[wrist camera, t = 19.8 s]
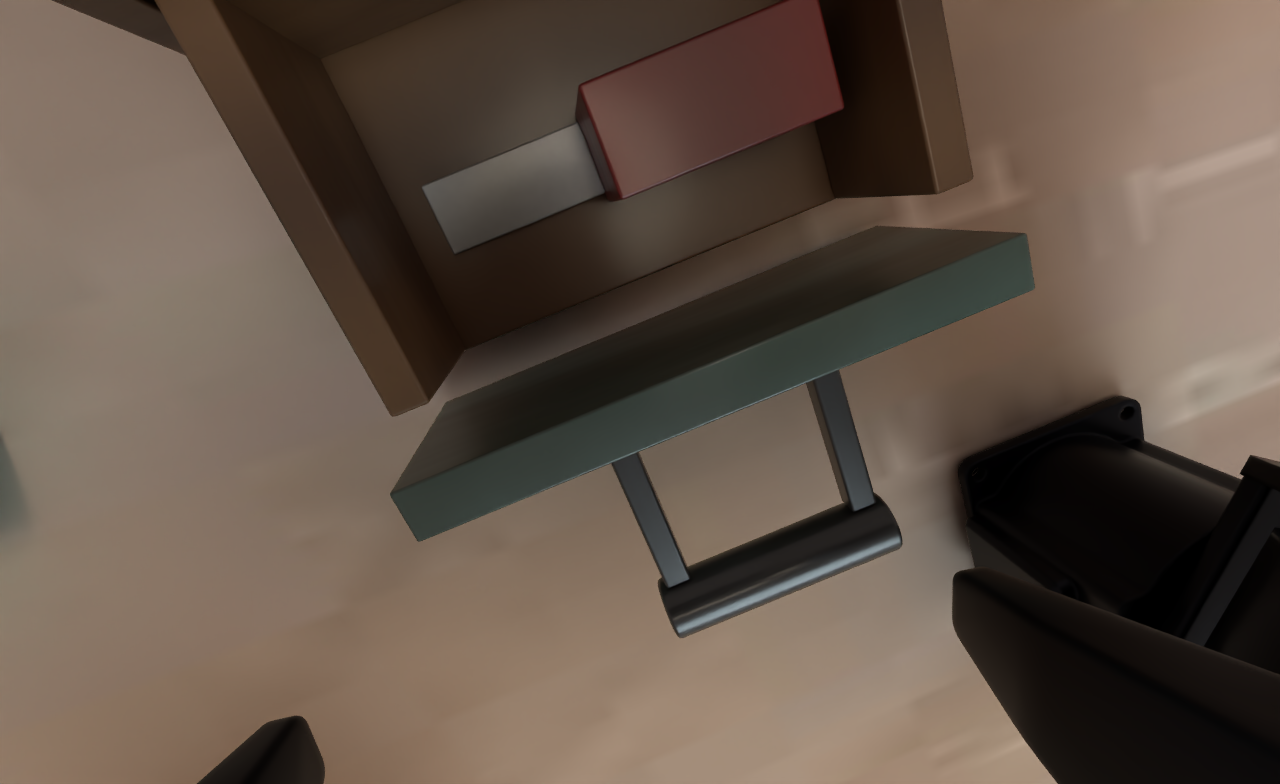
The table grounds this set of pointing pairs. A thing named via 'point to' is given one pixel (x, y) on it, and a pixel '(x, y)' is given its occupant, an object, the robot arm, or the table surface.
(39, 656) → the table surface
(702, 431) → the table surface
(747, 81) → the red usb flash drive
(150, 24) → the cabinet
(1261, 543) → the robot arm
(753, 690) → the table surface
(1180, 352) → the table surface
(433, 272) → the drawer
